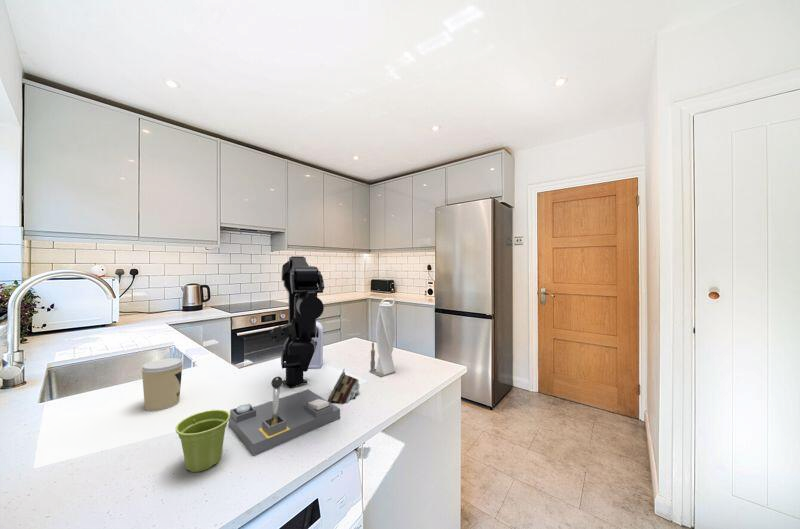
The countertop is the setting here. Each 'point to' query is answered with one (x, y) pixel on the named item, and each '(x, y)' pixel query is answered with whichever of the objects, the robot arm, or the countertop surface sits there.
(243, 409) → the push button
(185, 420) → the plant pot
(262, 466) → the countertop surface
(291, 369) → the robot arm
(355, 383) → the chocolate cake
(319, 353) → the soap bottle
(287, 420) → the switch panel
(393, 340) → the skyscraper
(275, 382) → the toggle lever
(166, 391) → the coffee cup
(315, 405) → the rocker switch
